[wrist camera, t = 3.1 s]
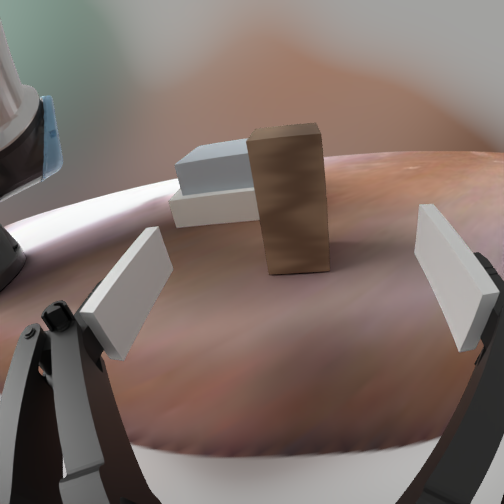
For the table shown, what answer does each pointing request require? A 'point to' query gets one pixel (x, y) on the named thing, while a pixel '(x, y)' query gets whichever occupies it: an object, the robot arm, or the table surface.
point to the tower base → (214, 207)
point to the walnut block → (291, 197)
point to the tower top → (215, 168)
